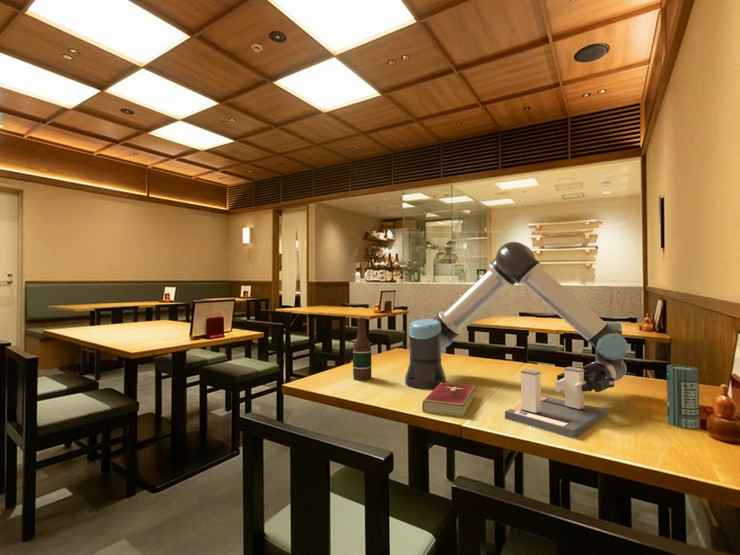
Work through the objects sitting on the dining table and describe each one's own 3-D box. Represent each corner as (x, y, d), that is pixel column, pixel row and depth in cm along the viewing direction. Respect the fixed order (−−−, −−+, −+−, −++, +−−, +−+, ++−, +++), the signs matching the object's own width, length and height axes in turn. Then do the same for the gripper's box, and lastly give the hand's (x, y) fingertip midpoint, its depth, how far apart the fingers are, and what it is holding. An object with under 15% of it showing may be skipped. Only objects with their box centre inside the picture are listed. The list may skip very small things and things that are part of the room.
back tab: (564, 405, 107) (564, 368, 107) (569, 403, 109) (568, 366, 109) (579, 409, 104) (579, 370, 104) (584, 406, 106) (583, 368, 106)
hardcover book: (422, 413, 110) (422, 399, 110) (439, 393, 129) (439, 381, 129) (463, 419, 105) (463, 404, 105) (475, 397, 124) (475, 385, 124)
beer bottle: (349, 377, 151) (349, 317, 152) (367, 374, 155) (366, 316, 155) (357, 381, 144) (356, 318, 145) (375, 379, 148) (374, 317, 148)
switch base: (504, 418, 104) (504, 370, 104) (542, 401, 118) (541, 359, 119) (573, 438, 90) (573, 383, 91) (606, 417, 105) (605, 369, 105)
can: (687, 420, 101) (686, 364, 102) (704, 429, 95) (703, 370, 96) (662, 420, 102) (661, 364, 102) (679, 428, 96) (678, 369, 96)
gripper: (630, 392, 112) (600, 410, 96) (569, 381, 125) (535, 395, 109) (629, 366, 112) (600, 380, 97) (569, 358, 125) (535, 369, 110)
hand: (565, 388), depth 103 cm, fingers closed on back tab, 4 cm apart
